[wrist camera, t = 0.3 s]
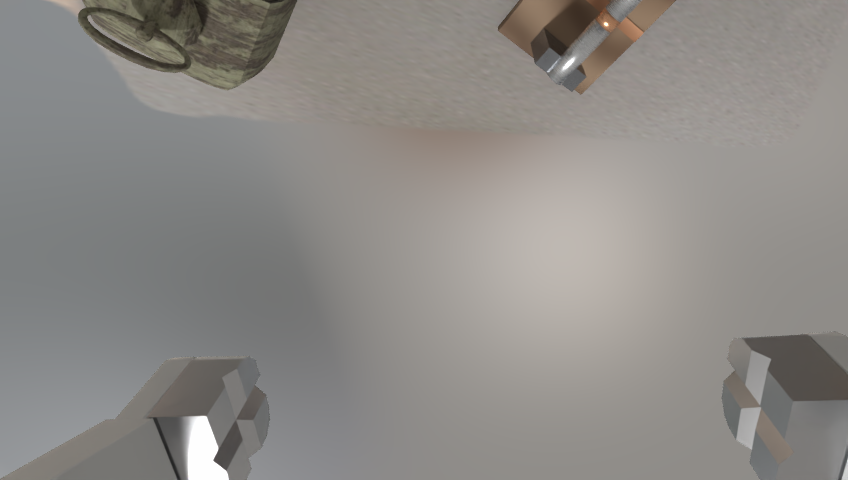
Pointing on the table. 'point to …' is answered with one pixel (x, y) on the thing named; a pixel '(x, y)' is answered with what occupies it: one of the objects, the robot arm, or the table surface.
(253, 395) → the robot arm
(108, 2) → the tabletop clock
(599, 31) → the linear slide rail
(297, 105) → the table surface
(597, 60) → the board
